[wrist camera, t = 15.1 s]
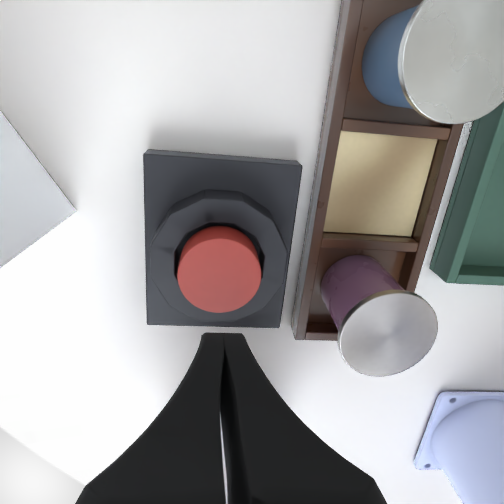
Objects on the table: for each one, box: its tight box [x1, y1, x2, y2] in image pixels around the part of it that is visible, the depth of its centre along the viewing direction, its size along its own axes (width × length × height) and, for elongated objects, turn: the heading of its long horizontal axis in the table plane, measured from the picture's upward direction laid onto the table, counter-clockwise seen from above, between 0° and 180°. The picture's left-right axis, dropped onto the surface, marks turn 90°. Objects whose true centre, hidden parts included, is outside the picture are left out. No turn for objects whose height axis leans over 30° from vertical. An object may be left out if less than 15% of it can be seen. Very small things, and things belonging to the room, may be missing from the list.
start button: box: [177, 226, 261, 313], centre depth 19 cm, size 4×4×2 cm
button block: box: [143, 149, 302, 328], centre depth 21 cm, size 10×8×3 cm
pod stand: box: [291, 0, 464, 341], centre depth 21 cm, size 7×20×2 cm, turn 175°
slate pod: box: [362, 0, 504, 124], centre depth 16 cm, size 5×5×5 cm
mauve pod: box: [321, 255, 438, 376], centre depth 21 cm, size 5×5×5 cm
